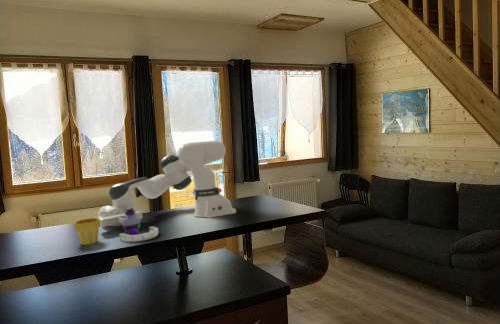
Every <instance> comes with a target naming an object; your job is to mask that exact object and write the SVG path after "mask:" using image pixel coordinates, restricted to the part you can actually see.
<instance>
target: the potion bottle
mask: <svg viewBox="0 0 500 324" xmlns="http://www.w3.org/2000/svg"><path fill="white" fill-rule="evenodd" d="M134 214H135V211H134V210H133V208H128V209H126V212H125V215H127V218H125V219H123V220H121V223H122V224H121V226H122V227H123V230H124V232H125V234H127V235H137V234H139V230H140V228H141V219H140V218H138V217H134Z"/></svg>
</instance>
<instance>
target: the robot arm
mask: <svg viewBox="0 0 500 324" xmlns="http://www.w3.org/2000/svg"><path fill="white" fill-rule="evenodd" d="M226 151H227V150H226V146H225V144H224V143H223V142H222V141H217V140H208V141H196V142H187V143H184V144H181V145H180V146H179V148H178V150H177V155H175V154H169V155H165V156H164V157H163V158H162V159H161V160H160V162H159V166H160V169H162V170H163V173H164V174H163V173H160V174H157V175H155V176H153V177H151V178H148V177H146V176H143V177H137V178H134V179H131V180H127V181H124V182H120V183H116V184H114V185H112V186H110V188H109V189H108V195H109V198H110V199H111V201H112V204H113V205H103V206H101V207H100V208H99V210H98V213H97V218H99V219H100V227H101V228H104V227H105V228H106V227H118V226H119V227H120V226H122V223H121V220H123V219H125V218H127V215H125V212H126V209H128V208H133V210H134V211H135V214H134V217H138V218H140V220H142V219H143V212H142V211H141V210H137V206H136V204H135V201H134V199H133V196H132V194H131V189H133V188H136V189H138V191H139V192H140V194H141V195H142V196H143V197H145V198H147V199H150V200H151V199H152V200H153V199H157V198H158V197H160V196H161V195H163V194H164V193H165V192H166V191H167V190H168V189H169V188H171V187H172V188H171V189H172V190H174V189H175V190H177V191H181V190H186V189H187V188H188V187H189V186H190V185H191V183H192V178H193V183H194V189H193V190H194V191H193V195H194V199H195V205H194V214H193V216H194V217H198V218H209V219H210V218H215V217H222V216H227V215H232V214H236V213H237V210H236V208H234V207H232V203H231V201H230V200H229V199H228V198H227V197H225V196H224V195H222V194H221V192H222V189H221V188H219V187H217V186H216V177H215V176H216V175H215V173H214V172H213V170H211V169H209V168H207V167H205V165H209V164H211V163H213V162H217V161H219V160H223V159H224V158H225V157H226ZM188 172H191V174H192V177H191V176H190V175H189V173H188ZM100 227H99V228H100Z"/></svg>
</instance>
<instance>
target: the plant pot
mask: <svg viewBox="0 0 500 324" xmlns="http://www.w3.org/2000/svg"><path fill="white" fill-rule="evenodd" d="M73 226H74V231H76V233H77V236H78V238H79V240H80V244H81V245H83V246H86V245H87V246H88V245H92V244H95V243H97V242H98V239H99V233H100V232H99V231H100V229H99V228H100V219H99V218H98V217H90V218H83V219H79V220H75V221H74V222H73Z"/></svg>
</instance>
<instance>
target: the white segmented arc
mask: <svg viewBox="0 0 500 324" xmlns="http://www.w3.org/2000/svg"><path fill="white" fill-rule="evenodd" d="M158 233H159V227H156V226H149V227H148V232H144V233H138V234H137V235H127V234H126V233H124V232H123V233H119V235H118V236H119V240H120V241H121V242H124V243H125V242H127V243H129V242H130V243H135V242H143V241H147V240H152V239H154V238H156V237H158V236H159V234H158ZM157 235H158V236H157Z"/></svg>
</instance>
